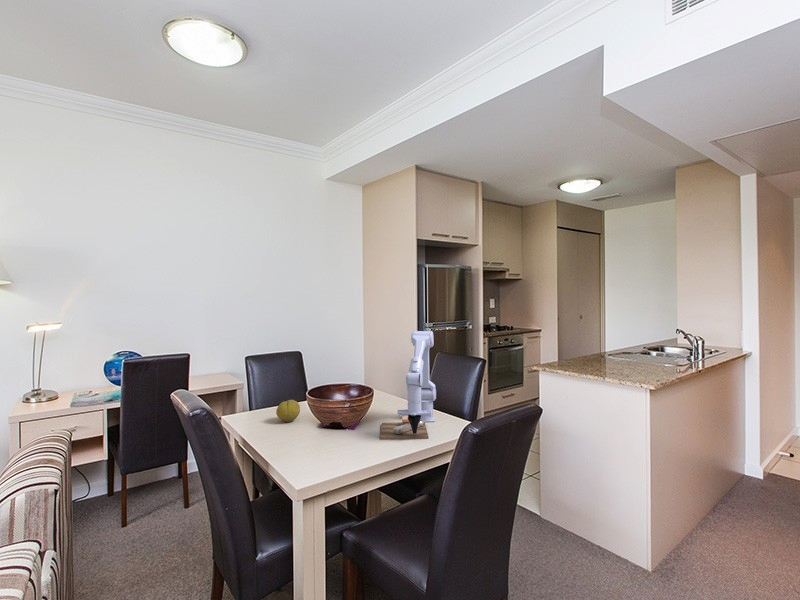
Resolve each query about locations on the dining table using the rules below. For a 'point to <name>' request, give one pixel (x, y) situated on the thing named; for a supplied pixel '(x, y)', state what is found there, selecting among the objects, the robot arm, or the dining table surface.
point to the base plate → (388, 432)
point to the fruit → (288, 410)
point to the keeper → (405, 419)
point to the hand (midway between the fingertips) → (414, 432)
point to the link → (405, 427)
